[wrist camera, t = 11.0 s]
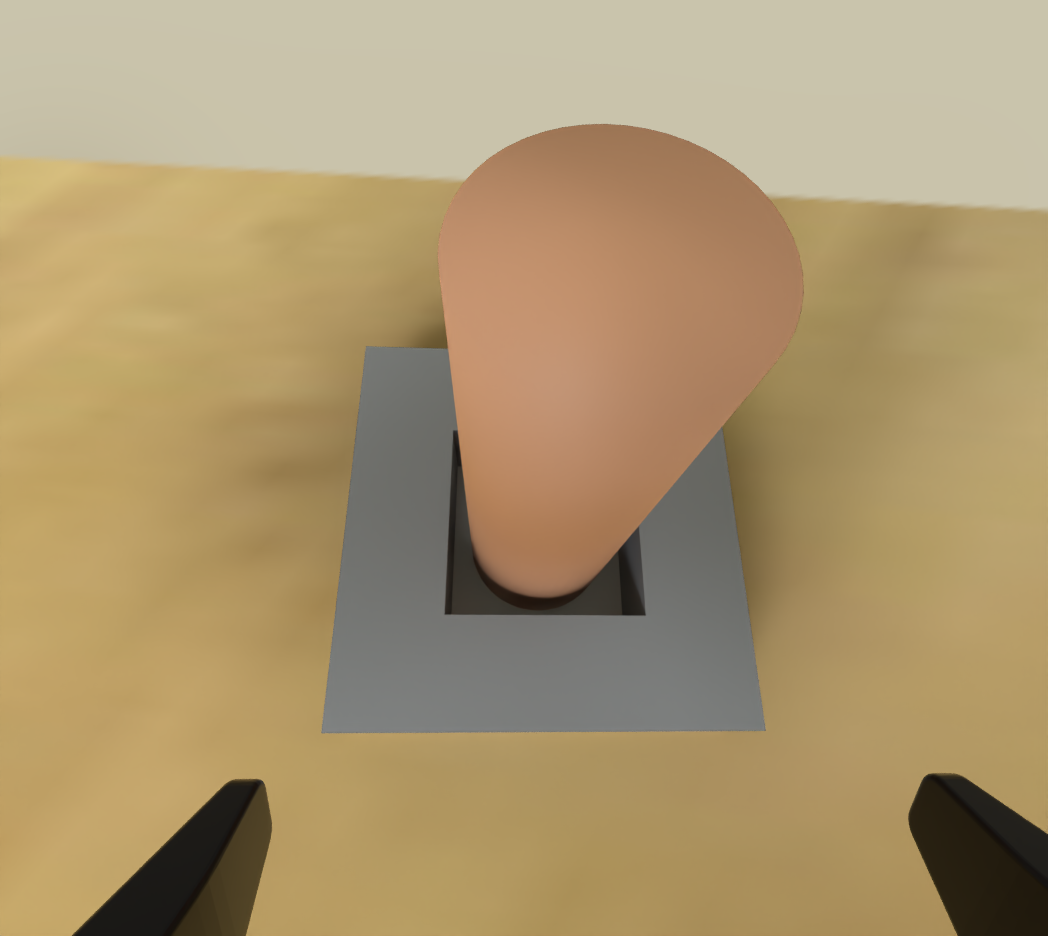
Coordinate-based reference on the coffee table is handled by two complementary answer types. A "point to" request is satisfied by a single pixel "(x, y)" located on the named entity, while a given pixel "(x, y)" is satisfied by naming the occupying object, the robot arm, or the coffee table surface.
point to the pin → (600, 338)
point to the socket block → (514, 633)
